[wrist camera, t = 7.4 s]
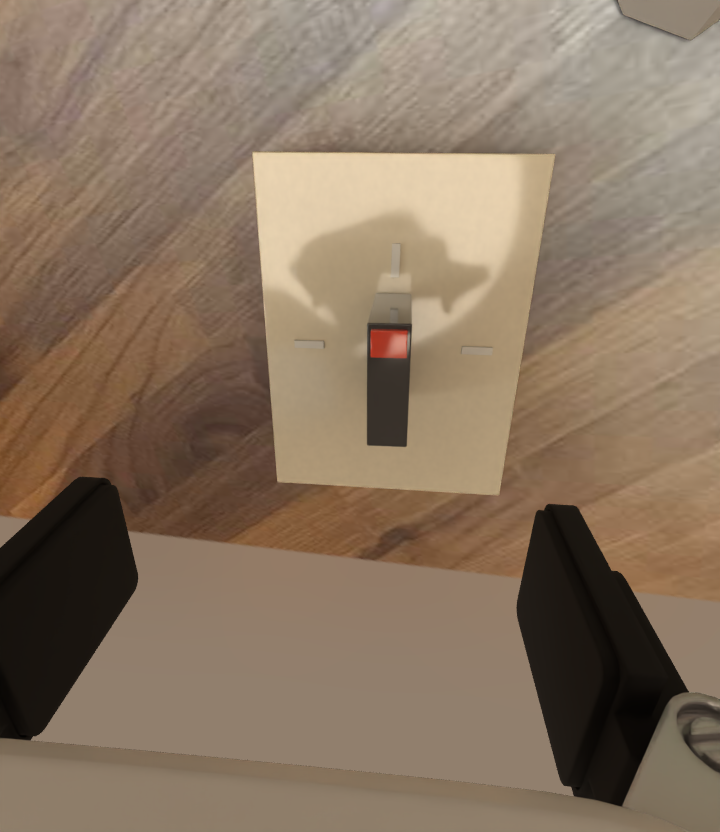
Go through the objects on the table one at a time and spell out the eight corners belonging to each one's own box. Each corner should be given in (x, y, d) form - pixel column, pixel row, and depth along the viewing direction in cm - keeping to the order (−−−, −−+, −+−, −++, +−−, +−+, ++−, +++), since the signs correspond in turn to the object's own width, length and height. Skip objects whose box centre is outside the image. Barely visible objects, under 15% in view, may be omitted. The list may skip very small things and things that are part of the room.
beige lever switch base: (490, 465, 29) (499, 497, 26) (288, 454, 30) (276, 484, 27) (537, 156, 22) (557, 153, 19) (270, 154, 22) (250, 151, 20)
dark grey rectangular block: (407, 396, 24) (406, 450, 19) (374, 395, 24) (366, 449, 19) (411, 293, 22) (412, 325, 17) (375, 292, 22) (366, 324, 17)
